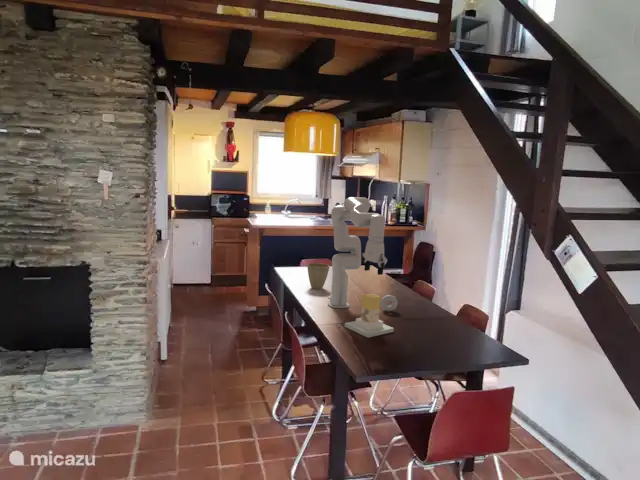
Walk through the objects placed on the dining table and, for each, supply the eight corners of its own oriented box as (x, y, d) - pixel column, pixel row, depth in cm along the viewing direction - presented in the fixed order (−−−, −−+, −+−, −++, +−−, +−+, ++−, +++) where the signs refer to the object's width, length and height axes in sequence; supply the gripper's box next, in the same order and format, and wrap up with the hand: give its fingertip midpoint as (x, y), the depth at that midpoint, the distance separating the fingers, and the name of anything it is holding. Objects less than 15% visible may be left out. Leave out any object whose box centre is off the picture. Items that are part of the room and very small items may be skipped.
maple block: (360, 318, 252) (361, 306, 251) (370, 317, 256) (371, 305, 255) (369, 322, 247) (370, 310, 246) (378, 320, 250) (379, 308, 249)
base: (344, 326, 253) (345, 317, 253) (369, 321, 264) (370, 312, 263) (367, 337, 239) (368, 328, 238) (393, 331, 250) (394, 322, 249)
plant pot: (327, 291, 320) (329, 268, 317) (305, 290, 320) (306, 266, 318) (328, 286, 335) (329, 263, 332) (306, 284, 335) (307, 262, 332)
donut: (380, 312, 283) (382, 295, 281) (379, 310, 286) (380, 293, 284) (397, 312, 284) (398, 295, 282) (395, 310, 287) (397, 294, 286)
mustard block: (361, 307, 250) (362, 294, 249) (370, 305, 254) (371, 293, 253) (370, 310, 245) (371, 298, 244) (379, 308, 249) (380, 296, 248)
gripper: (359, 237, 249) (356, 269, 251) (382, 242, 235) (379, 276, 238) (369, 236, 253) (367, 268, 256) (393, 241, 240) (390, 275, 242)
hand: (373, 272), depth 247 cm, fingers open, 9 cm apart
